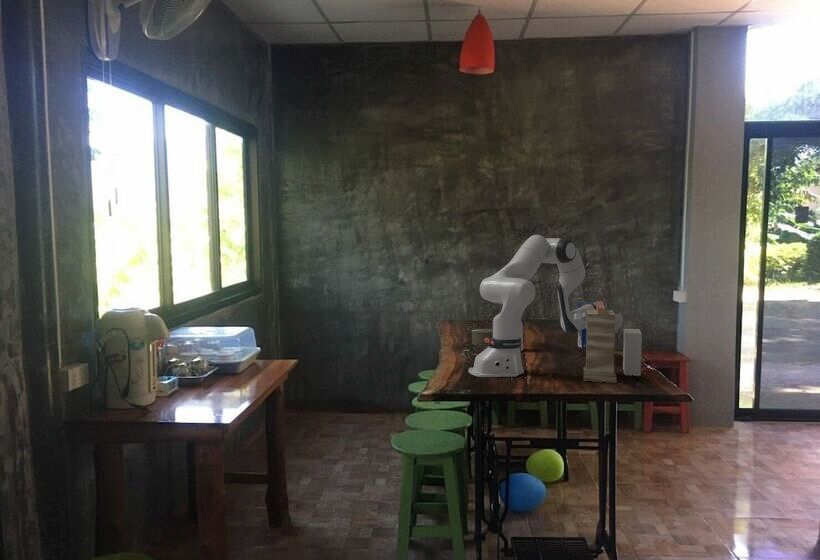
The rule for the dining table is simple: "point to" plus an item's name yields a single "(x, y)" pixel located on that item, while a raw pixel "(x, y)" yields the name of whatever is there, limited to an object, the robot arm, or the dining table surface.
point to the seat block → (632, 352)
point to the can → (481, 336)
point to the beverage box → (583, 333)
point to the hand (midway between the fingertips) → (598, 312)
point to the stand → (600, 347)
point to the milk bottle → (521, 335)
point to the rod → (600, 307)
